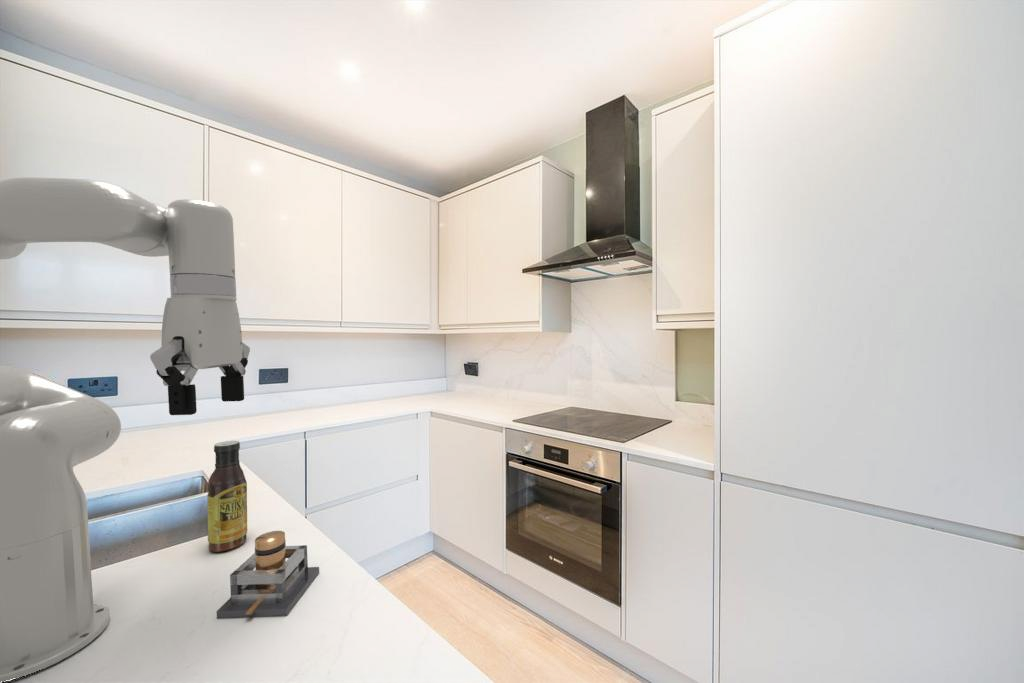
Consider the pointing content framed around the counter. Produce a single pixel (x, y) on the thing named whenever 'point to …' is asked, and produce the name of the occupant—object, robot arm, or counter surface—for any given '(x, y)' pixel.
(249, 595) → the collar stand
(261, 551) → the copper tube
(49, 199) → the robot arm
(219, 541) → the sauce bottle
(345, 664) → the counter surface
